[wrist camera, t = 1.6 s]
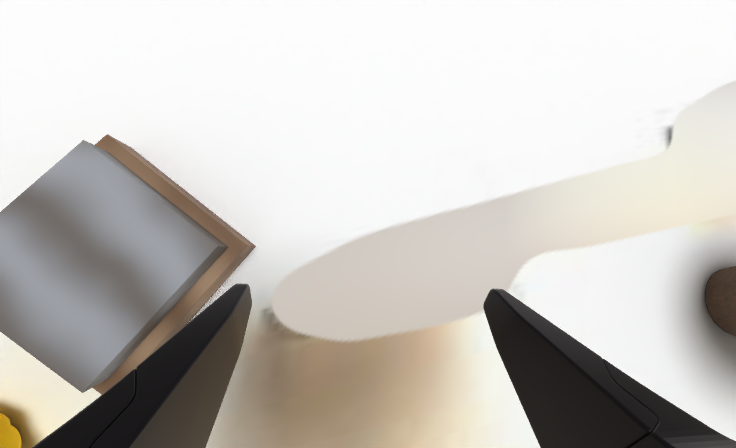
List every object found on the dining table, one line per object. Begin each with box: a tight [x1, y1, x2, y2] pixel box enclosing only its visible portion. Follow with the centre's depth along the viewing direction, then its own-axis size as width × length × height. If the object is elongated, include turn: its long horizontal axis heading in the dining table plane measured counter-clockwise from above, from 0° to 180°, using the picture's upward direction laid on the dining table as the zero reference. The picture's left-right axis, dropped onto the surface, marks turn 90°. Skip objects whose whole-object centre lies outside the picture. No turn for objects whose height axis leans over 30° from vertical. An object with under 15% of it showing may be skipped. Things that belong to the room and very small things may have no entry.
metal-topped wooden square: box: [0, 135, 256, 395], centre depth 20 cm, size 14×14×4 cm
